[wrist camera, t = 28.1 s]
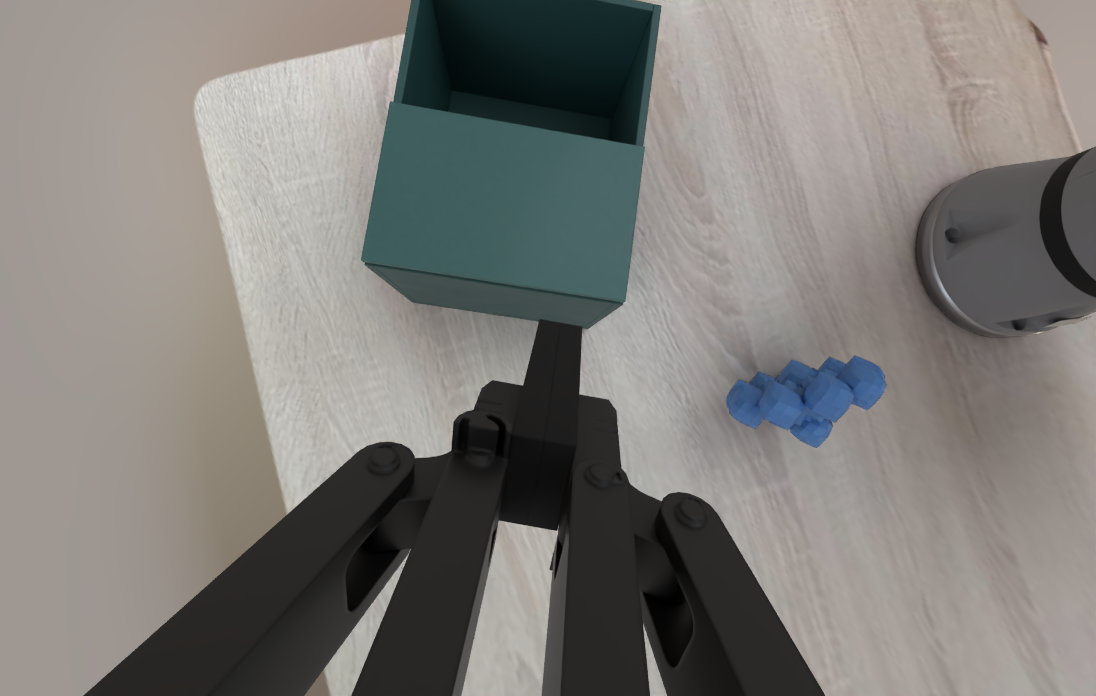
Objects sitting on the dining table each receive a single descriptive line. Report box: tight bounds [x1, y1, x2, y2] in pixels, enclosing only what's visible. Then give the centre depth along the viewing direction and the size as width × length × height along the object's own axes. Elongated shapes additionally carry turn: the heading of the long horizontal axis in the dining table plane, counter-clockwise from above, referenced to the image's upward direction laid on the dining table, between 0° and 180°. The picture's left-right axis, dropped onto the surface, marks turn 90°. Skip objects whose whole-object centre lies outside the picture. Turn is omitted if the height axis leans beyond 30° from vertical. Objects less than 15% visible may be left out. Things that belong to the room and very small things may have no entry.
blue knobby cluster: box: [726, 356, 887, 448], centre depth 35 cm, size 12×7×12 cm, turn 104°
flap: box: [361, 102, 645, 302], centre depth 27 cm, size 9×15×1 cm, turn 82°
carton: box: [365, 0, 661, 329], centre depth 34 cm, size 19×15×12 cm
